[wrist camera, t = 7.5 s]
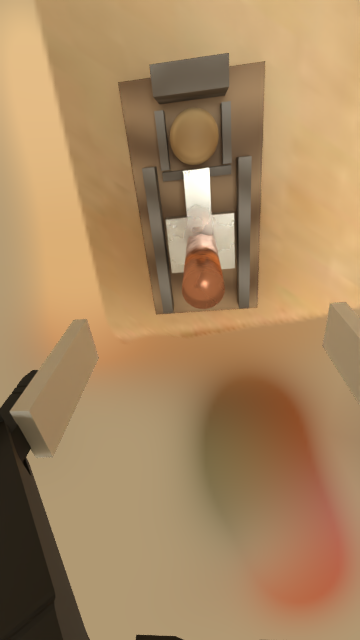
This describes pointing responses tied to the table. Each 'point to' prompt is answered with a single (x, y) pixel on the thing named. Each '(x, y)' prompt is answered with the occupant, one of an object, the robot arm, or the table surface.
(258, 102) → the base
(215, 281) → the lever handle
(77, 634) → the robot arm
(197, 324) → the table surface
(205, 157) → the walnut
